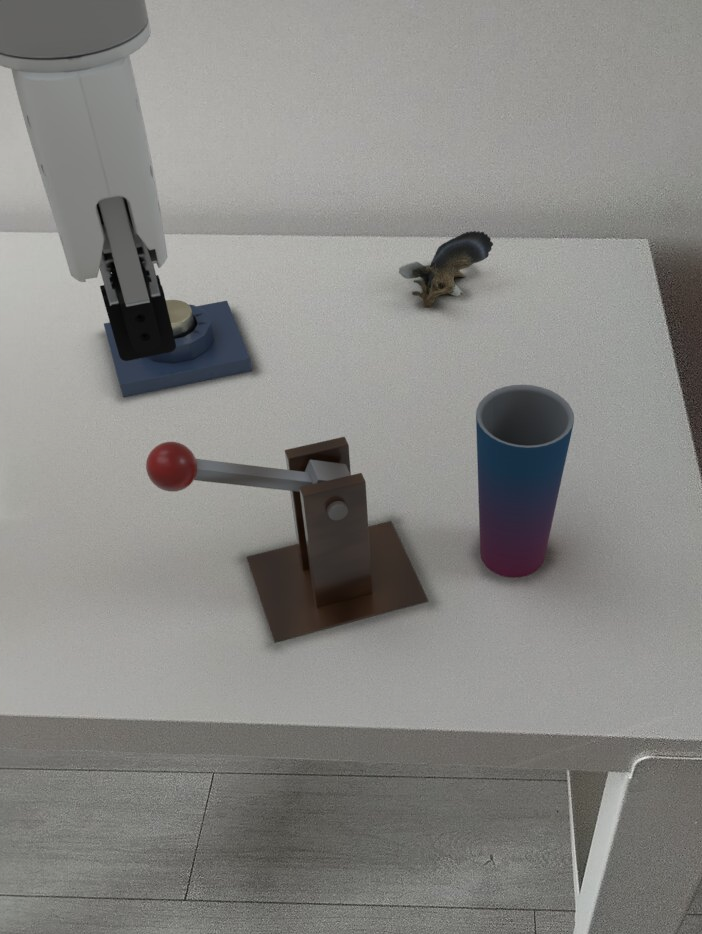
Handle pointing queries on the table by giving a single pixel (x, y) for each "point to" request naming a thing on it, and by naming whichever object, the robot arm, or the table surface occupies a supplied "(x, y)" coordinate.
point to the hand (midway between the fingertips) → (146, 348)
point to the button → (180, 318)
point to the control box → (187, 354)
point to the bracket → (332, 556)
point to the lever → (230, 471)
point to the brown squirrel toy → (448, 265)
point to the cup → (519, 474)
